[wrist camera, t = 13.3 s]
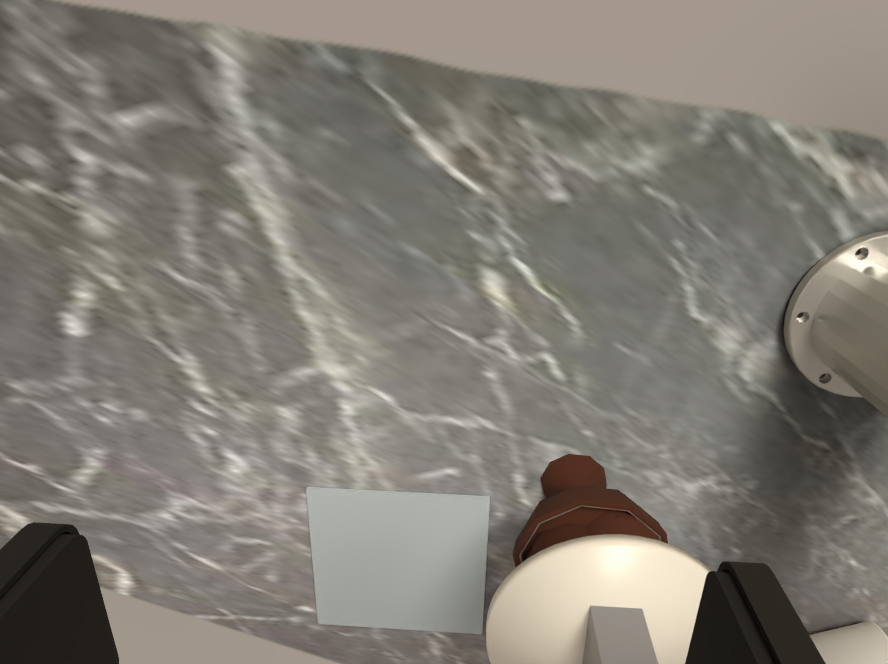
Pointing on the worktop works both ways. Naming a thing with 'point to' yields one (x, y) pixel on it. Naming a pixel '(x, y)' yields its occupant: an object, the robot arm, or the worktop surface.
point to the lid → (597, 604)
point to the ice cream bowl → (581, 509)
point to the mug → (853, 644)
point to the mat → (399, 559)
